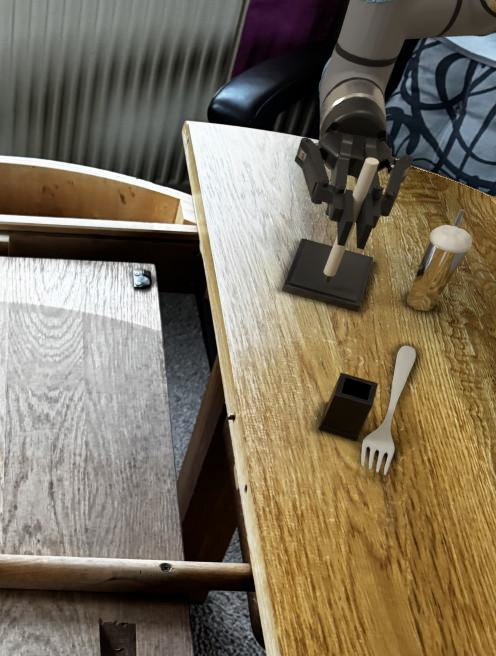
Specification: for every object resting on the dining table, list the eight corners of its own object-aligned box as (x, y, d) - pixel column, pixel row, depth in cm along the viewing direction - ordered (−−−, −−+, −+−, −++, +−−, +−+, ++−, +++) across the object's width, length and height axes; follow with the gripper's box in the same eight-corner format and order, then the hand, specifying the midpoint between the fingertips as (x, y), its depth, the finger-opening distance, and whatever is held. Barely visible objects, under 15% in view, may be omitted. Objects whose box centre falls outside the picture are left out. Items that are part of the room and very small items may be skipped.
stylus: (333, 279, 108) (380, 159, 97) (331, 285, 107) (378, 165, 96) (321, 276, 108) (366, 155, 97) (319, 282, 107) (364, 162, 96)
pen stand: (362, 417, 96) (379, 382, 93) (356, 441, 94) (373, 406, 91) (324, 406, 97) (340, 371, 93) (318, 429, 95) (333, 394, 91)
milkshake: (443, 295, 111) (483, 215, 103) (435, 319, 108) (476, 238, 100) (405, 283, 112) (442, 203, 103) (397, 307, 109) (434, 226, 101)
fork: (423, 351, 104) (430, 338, 102) (383, 488, 90) (390, 475, 89) (394, 342, 104) (401, 329, 103) (350, 477, 91) (357, 464, 90)
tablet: (371, 263, 114) (374, 256, 113) (357, 311, 107) (360, 305, 107) (299, 243, 115) (302, 236, 114) (281, 290, 109) (284, 283, 108)
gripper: (399, 171, 114) (409, 279, 100) (283, 150, 114) (276, 255, 101) (426, 106, 107) (440, 213, 94) (302, 86, 108) (298, 188, 95)
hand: (355, 235), depth 97 cm, fingers closed on stylus
